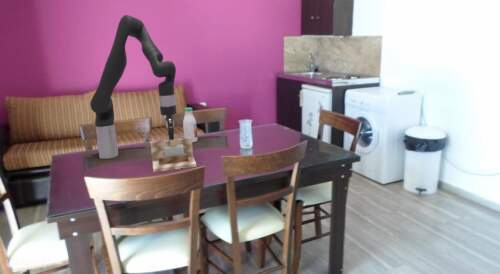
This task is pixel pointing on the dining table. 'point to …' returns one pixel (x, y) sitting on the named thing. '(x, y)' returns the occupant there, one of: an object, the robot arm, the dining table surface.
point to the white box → (174, 148)
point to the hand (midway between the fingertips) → (171, 137)
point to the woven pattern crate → (175, 161)
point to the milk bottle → (189, 125)
